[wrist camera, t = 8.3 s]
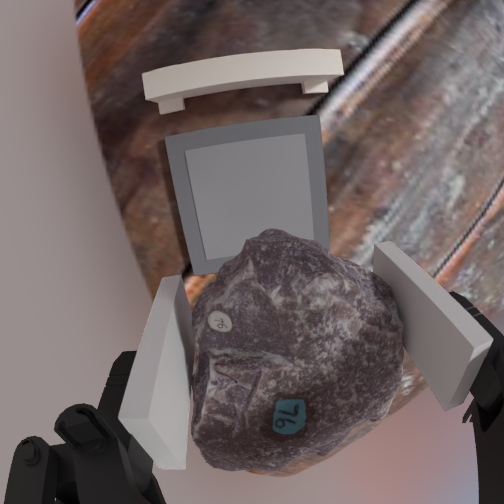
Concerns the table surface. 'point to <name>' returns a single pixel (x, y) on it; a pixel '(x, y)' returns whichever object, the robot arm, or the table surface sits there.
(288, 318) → the rock
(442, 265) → the table surface
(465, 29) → the table surface
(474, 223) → the table surface
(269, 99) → the table surface
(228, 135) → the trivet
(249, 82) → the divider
